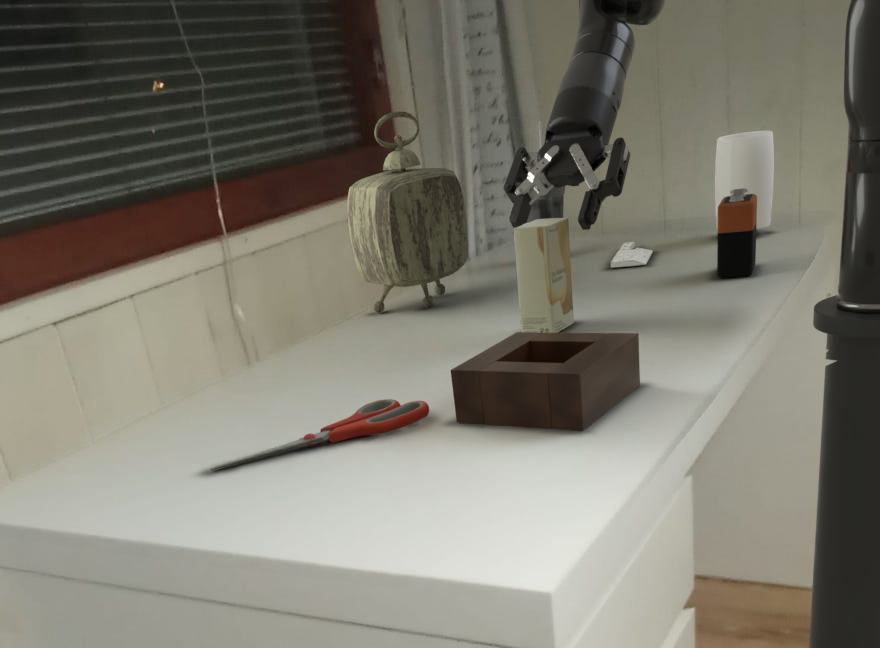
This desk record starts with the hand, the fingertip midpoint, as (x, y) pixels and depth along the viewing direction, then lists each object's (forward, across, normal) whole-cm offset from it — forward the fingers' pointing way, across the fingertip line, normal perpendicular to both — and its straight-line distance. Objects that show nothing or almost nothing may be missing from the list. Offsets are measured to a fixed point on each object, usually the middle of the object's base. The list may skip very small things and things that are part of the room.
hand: (549, 227), depth 115 cm
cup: (-29, +6, +45) cm, 54 cm away
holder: (+28, +13, -12) cm, 33 cm away
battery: (-11, +13, +27) cm, 32 cm away
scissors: (+38, -3, -22) cm, 44 cm away
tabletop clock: (+1, -26, +15) cm, 30 cm away
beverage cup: (-20, -21, +36) cm, 46 cm away
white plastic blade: (-19, -6, +35) cm, 41 cm away
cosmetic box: (+10, 0, +6) cm, 12 cm away
